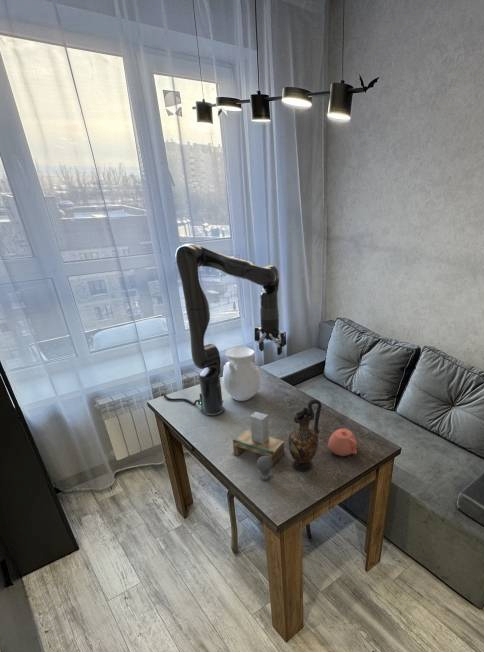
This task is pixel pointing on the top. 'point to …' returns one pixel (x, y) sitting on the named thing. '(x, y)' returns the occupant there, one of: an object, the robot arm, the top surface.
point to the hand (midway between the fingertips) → (270, 352)
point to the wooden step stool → (259, 446)
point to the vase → (304, 437)
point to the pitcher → (241, 374)
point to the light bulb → (265, 466)
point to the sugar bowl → (342, 442)
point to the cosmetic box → (259, 427)
